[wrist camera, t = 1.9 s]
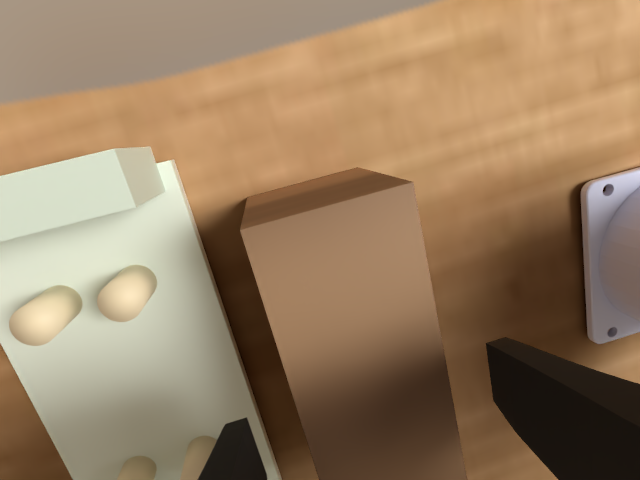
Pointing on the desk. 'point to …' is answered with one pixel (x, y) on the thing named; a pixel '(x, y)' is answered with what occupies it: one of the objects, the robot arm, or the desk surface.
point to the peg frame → (119, 319)
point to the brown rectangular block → (356, 325)
